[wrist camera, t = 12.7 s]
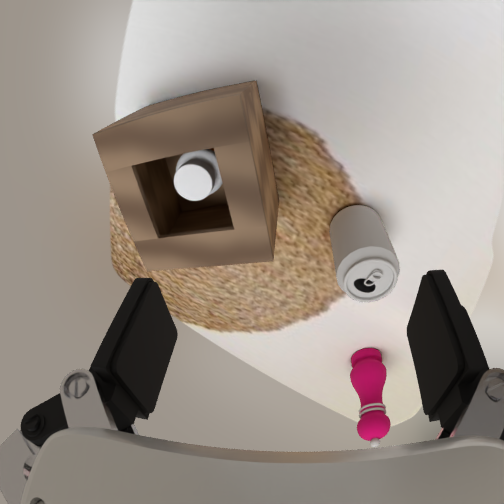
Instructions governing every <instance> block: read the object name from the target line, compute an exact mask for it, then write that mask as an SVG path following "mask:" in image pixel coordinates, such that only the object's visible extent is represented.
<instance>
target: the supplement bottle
mask: <svg viewBox="0 0 504 504" xmlns="http://www.w3.org/2000/svg"><path fill="white" fill-rule="evenodd" d="M222 184H223V183H222V179H221V175H220V171H219V167H218V163H217V159H216V155H215V151H214V148H210V149H204V150H199V151H194V152H189V153H184V154H182V156H181V157H180V158H179V160H178V162H177V166H176V173H175V176H174V186H175V189H176V190H177V192H178V193H179V194H180V195H181V196H182V197H184V198H185V199H188V200H191V201H199V200H202V199H204V198H206V197H207V196H208V195H210V194H212V193H214V192H215V191H217V190H218V189H219V188H220V187H221V185H222Z"/></svg>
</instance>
